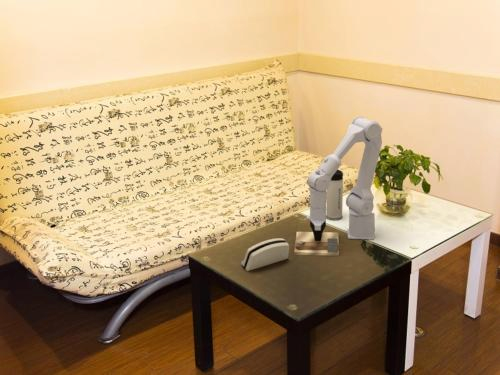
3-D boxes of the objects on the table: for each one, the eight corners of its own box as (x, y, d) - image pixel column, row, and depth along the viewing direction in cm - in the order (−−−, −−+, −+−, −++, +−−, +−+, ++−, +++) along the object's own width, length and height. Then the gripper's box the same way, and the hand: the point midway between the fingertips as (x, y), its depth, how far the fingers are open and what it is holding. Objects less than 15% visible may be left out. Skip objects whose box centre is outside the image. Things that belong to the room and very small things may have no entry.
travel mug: (325, 214, 238) (326, 167, 231) (342, 214, 237) (343, 167, 230) (325, 220, 232) (325, 172, 225) (342, 220, 232) (343, 172, 224)
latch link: (295, 249, 207) (295, 244, 206) (295, 245, 210) (295, 239, 209) (339, 250, 205) (339, 244, 204) (338, 245, 208) (338, 240, 208)
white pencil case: (280, 252, 207) (285, 231, 201) (287, 261, 204) (293, 240, 198) (239, 265, 200) (243, 244, 194) (246, 274, 197) (250, 253, 191)
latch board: (338, 234, 219) (338, 232, 219) (339, 255, 204) (339, 253, 203) (296, 234, 221) (296, 231, 221) (294, 254, 206) (294, 252, 205)
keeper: (337, 246, 208) (337, 238, 207) (337, 252, 204) (337, 244, 203) (327, 246, 209) (327, 238, 207) (327, 252, 204) (327, 244, 203)
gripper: (307, 197, 214) (307, 231, 219) (306, 213, 201) (306, 249, 206) (326, 198, 213) (326, 231, 218) (326, 213, 200) (326, 249, 205)
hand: (317, 240), depth 212 cm, fingers closed
